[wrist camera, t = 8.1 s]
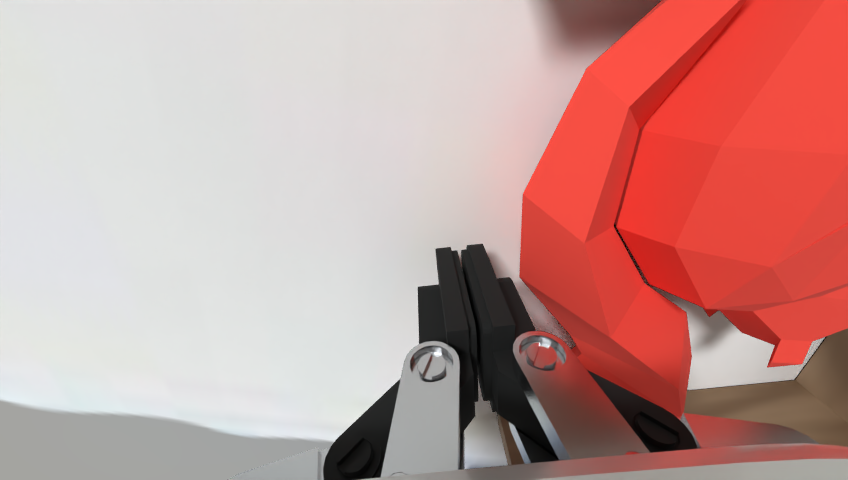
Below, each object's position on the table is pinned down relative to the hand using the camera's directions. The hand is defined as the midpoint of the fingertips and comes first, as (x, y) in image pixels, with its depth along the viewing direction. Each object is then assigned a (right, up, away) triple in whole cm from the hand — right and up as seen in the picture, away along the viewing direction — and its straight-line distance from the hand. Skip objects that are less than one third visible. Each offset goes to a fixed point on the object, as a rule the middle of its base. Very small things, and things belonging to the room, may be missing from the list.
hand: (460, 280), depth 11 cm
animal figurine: (+7, +2, +1) cm, 7 cm away
